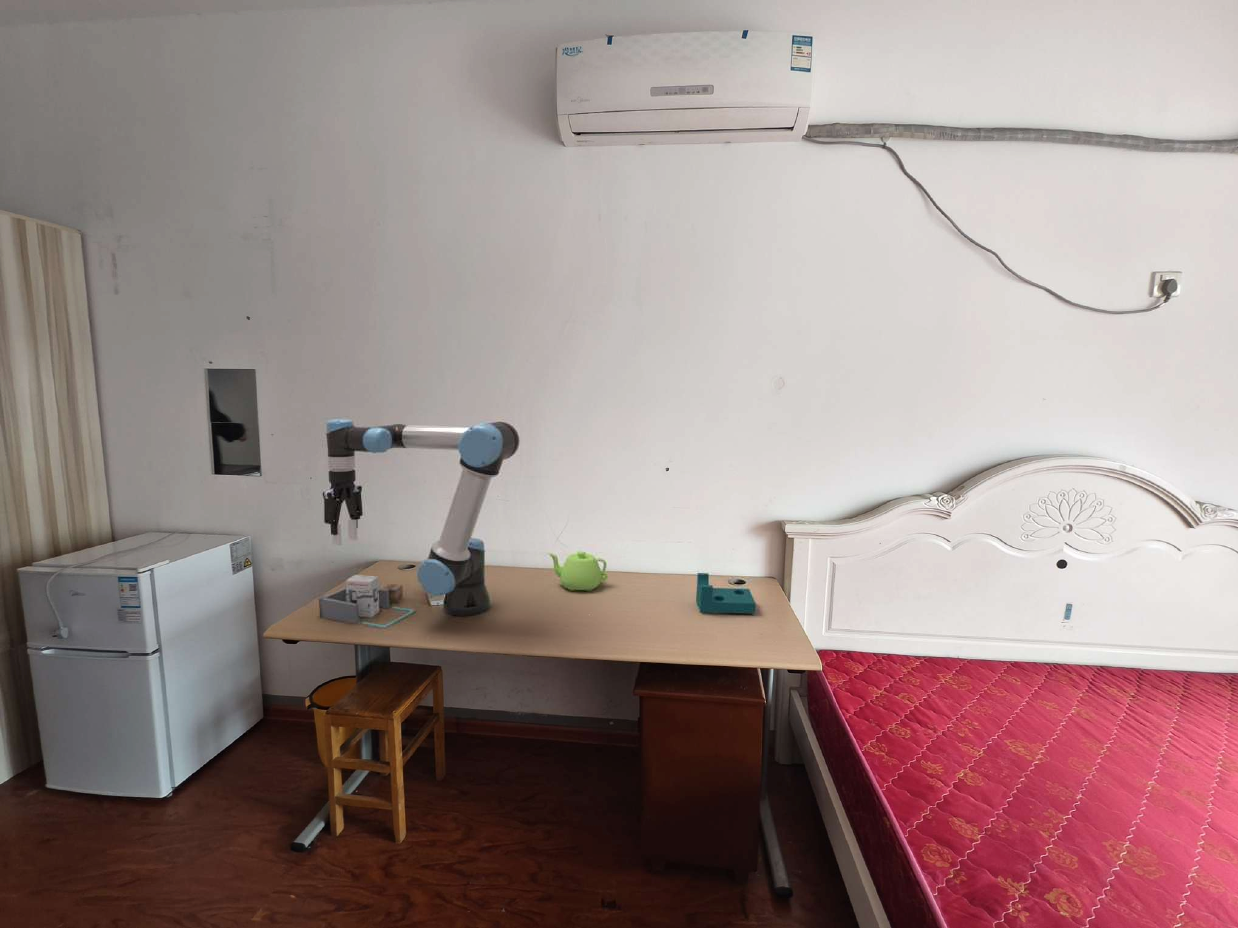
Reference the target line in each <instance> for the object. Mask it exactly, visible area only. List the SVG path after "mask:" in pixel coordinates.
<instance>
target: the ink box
mask: <svg viewBox="0 0 1238 928" xmlns="http://www.w3.org/2000/svg"><path fill="white" fill-rule="evenodd" d="M345 587H346V601H347V602H350V603H355V604H358V612H359V617H362V618H363V617H367V618H373V617H374V616H375V615H377V614H378V613H379V612H380V607H379V588H380V587H379V577H378V576H373V575H365V574H364V575H361V574H360V575H359V574H355V575H352V576H351V577H349V578H347V579H346V580H345Z"/></svg>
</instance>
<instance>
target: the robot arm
mask: <svg viewBox="0 0 1238 928" xmlns="http://www.w3.org/2000/svg"><path fill="white" fill-rule="evenodd" d="M325 436H326V444H327V445H326V446H327V465H328V469H329V471H328V482H329V483H330V488H329V490H328V491H323V492H322V497H323V503H324V504H323V505H324V506H323V514H324V515H323V517H324V518H323V519H324V521H323V522H324V524H326V525H330V534H331V535H332V536H331V537H332V545H335V546H342V544H343V543H342V526H341V524H340V523H339V521H340V516H341V510H342V506H343V503H344V502H345V505H346V506H345V507H346V510H347V513H348V516H349V518H348V519H347V526H348V527H347V528H348V529H347V531H348V540H353V541H357V540H358V527H359V525H358V522H359V521H358V520H360V519H361V517H363V514H364V512H363V499H362V489H363V486H362V485H355V481H356V480H357V479H356V470H355V468H356V457H355V456H356V455H355V454H356V453H355V452H363V453H372V454H378V453H380V454H382V453H387V451H388V450H390V449H422V450H423V449H426V450H427V449H428V450H431V449H432V450H449V451H450V450H451V451H453V450H454V451H458V453H459V454H460V459H459V465H460V467H461V469H462V471H461V473H460V477H459V480H458V483H457V486H456V489H455V491H454V495H453V498H452V501H451V504H450V507H449V509H448V513H447V516H446V518H445V522H444V524H443V527H442V531H441V534H440V538H439V540H438V541H435V542H433V544H432V545H431V549H430V551H429V554H428V556H427V558H426V559H424V560H422V562H421V563H420V564H419V565H418V568H417V575H416V577H417V581H418V583H419V584H420V586H421V588H422V589H423V590H424V591H425V592H426V593H428V594H430V595H432V596H438V597H439V596H440V597H441V596H444V598H443V601H442V611H444V613H446V614H449V615H451V616H460V617H462V616H463V617H464V616H466V617H467V616H473V615H478V614H481V613H484V612H485V611H487V610H488V609H490V607H491V597H490V596H489V592H488V589H487V586H486V582H485V581H486V580H485V573H486V572H485V567H486V566H485V552H486V550H485V543H484V541H483V540H481V539H480V538H479V539H478V538H475V537H473V538H472V536H473V534H474V531H475V527H476V525H477V521H478V519H479V515H480V513H481V510H482V508H483V507H482V506H483V504H484V501H485V498H486V495H487V492H488V491H489V490H488V489H489V486H490V484H491V480H492V479H493V478H495V477H497V476H498V475H499V473H500V470H501V468H502V465H503V462H504V461H505V460H508V459H510V458H511V457H512V456H513V455H515V454H516V453H517V451H518V450H519V446H520V435H519V433H518V431H517V429H516V428H515V427H514V426H513V425H511V424H510V423H508V422H503V421H496V422H488V423H487V422H486V423H485V422H483V423H477V424H475V425H472V426H470V425H469V426H466V425H465V426H463V425H462V426H461V425H460V426H459V425H427V424H426V425H420V424H419V425H417V424H415V425H414V424H404V423H403V424H402V423H395V424H389V425H379V426H355V424H354V422H353V420H352V419H341V418H340V419H339V418H337V419H330V420H327V422H326V433H325Z"/></svg>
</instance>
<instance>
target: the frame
mask: <svg viewBox="0 0 1238 928" xmlns="http://www.w3.org/2000/svg"><path fill="white" fill-rule="evenodd" d="M391 609H392V610H397V611H402V612H406V613H405V614H403V615H402V616H400V617H398V618H396V619H394V620H392V621H390V622H389V623H387V624H385V625H382V624H377V623H372V622H368V621H364V622H362V625H364V626H369V627H373V628H374V627H375V628H379V629H384V630H385V629H387V628H389V627H391V626H393V625H394V624H396V623H398V622H400V621H401V620H403V619H405V618H407V617H409V616H411V615H413V614H414V613H416V612H417V611H416V609H409V608H405V607H398V606H392V607H391Z"/></svg>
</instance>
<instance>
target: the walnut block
mask: <svg viewBox="0 0 1238 928" xmlns="http://www.w3.org/2000/svg"><path fill="white" fill-rule="evenodd" d="M382 589H388V590H389V605H390V604H391V605H398V603H399V602H401V601H402V600H403V599H404V594H403V584H396V583H395V584H394V583H388V584H386V585H385V586H383V587H382Z"/></svg>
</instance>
